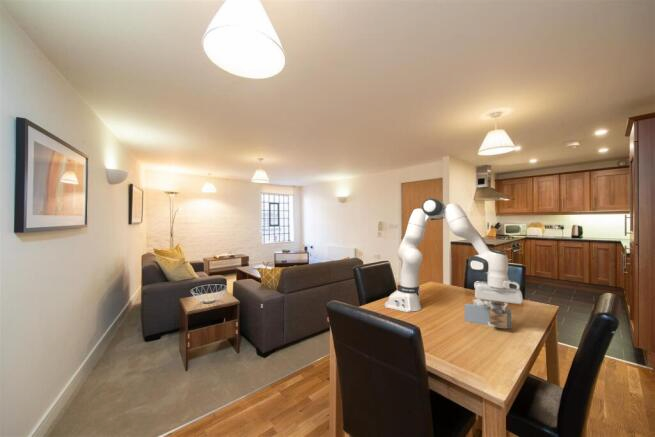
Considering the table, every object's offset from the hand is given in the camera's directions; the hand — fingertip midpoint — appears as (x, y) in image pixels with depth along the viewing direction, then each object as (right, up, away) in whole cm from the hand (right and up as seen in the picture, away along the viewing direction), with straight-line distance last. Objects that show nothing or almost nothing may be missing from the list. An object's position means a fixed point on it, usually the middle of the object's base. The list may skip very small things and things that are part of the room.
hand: (497, 309), depth 130 cm
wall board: (-1, -10, +7) cm, 12 cm away
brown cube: (0, -7, 0) cm, 7 cm away
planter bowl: (+16, -10, +32) cm, 37 cm away
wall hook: (+6, -10, +19) cm, 22 cm away
